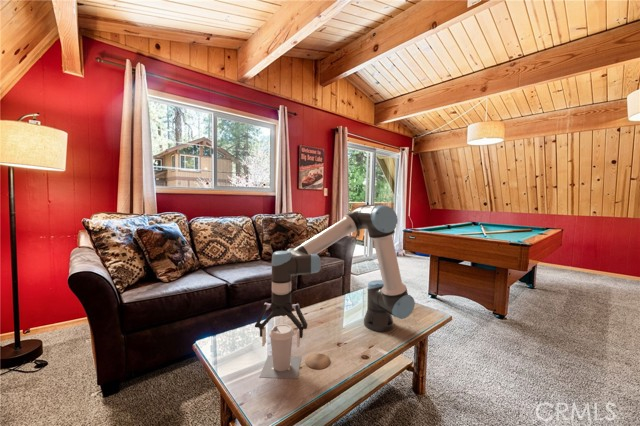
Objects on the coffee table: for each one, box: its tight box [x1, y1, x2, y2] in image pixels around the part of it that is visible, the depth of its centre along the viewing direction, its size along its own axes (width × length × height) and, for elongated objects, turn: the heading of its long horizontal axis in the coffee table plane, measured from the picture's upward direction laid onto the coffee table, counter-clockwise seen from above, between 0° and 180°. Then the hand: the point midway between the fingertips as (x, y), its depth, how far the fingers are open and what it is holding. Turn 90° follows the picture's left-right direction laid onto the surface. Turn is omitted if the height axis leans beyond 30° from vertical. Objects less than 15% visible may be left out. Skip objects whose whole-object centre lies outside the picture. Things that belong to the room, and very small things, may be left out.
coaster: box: [305, 353, 331, 370], centre depth 110 cm, size 10×10×1 cm
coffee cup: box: [268, 323, 295, 371], centre depth 107 cm, size 10×10×15 cm
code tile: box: [259, 354, 302, 380], centre depth 107 cm, size 14×14×1 cm
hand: (281, 345), depth 107 cm, fingers open, 13 cm apart
